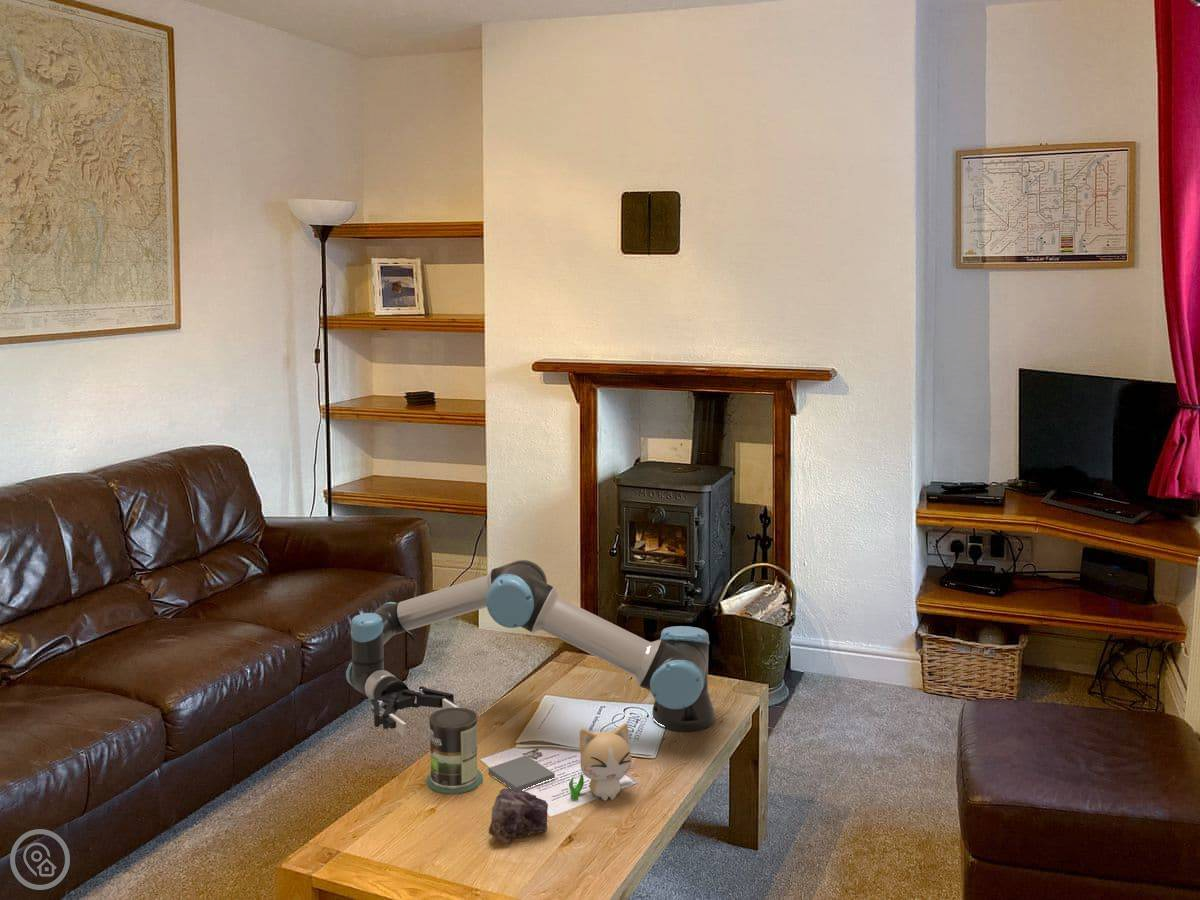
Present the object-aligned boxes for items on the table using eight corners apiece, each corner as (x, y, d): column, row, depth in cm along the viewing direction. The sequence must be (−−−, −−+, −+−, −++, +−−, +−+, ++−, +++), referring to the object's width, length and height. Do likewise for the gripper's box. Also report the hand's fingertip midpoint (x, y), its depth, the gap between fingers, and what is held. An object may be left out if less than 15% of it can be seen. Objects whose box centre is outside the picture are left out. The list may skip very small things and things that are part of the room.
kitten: (575, 810, 230) (575, 742, 228) (563, 787, 240) (563, 722, 237) (644, 800, 235) (645, 733, 232) (629, 778, 244) (630, 714, 241)
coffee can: (438, 793, 236) (437, 731, 233) (424, 772, 245) (423, 712, 242) (484, 783, 240) (483, 722, 237) (469, 763, 249) (468, 703, 247)
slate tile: (488, 768, 246) (516, 787, 237) (525, 755, 252) (554, 773, 243) (488, 775, 246) (516, 795, 237) (526, 762, 252) (554, 781, 244)
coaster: (494, 778, 244) (494, 775, 244) (455, 799, 234) (455, 797, 234) (454, 762, 251) (454, 760, 251) (415, 782, 241) (415, 780, 241)
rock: (548, 845, 220) (533, 819, 229) (555, 805, 218) (539, 780, 227) (491, 848, 215) (478, 821, 224) (498, 806, 214) (484, 781, 223)
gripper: (433, 693, 273) (480, 722, 256) (338, 719, 258) (381, 752, 241) (433, 664, 271) (479, 692, 255) (337, 688, 256) (380, 720, 240)
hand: (432, 721), depth 248 cm, fingers open, 13 cm apart
